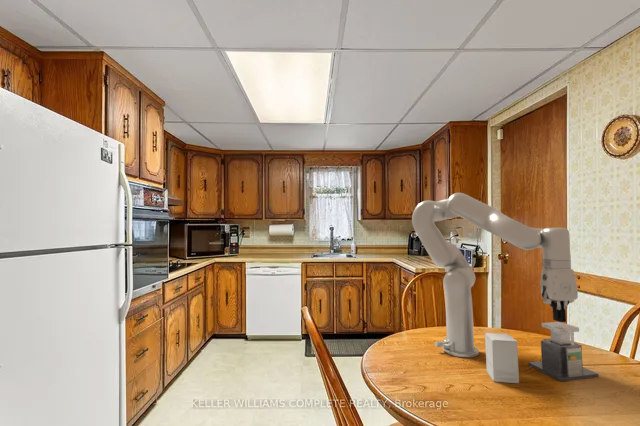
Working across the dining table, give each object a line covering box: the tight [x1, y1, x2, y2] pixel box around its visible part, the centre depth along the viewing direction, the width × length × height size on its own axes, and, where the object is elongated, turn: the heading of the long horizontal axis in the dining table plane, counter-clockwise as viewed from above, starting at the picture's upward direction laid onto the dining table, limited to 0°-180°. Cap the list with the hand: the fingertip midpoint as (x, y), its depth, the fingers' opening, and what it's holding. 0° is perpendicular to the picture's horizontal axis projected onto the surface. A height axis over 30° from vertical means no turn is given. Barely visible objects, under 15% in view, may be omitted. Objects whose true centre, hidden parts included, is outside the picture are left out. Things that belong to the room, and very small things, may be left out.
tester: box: [527, 337, 600, 382], centre depth 106 cm, size 14×12×9 cm
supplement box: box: [484, 332, 520, 384], centre depth 103 cm, size 7×7×13 cm
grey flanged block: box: [541, 321, 580, 346], centre depth 105 cm, size 7×9×9 cm
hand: (559, 320), depth 107 cm, fingers closed
